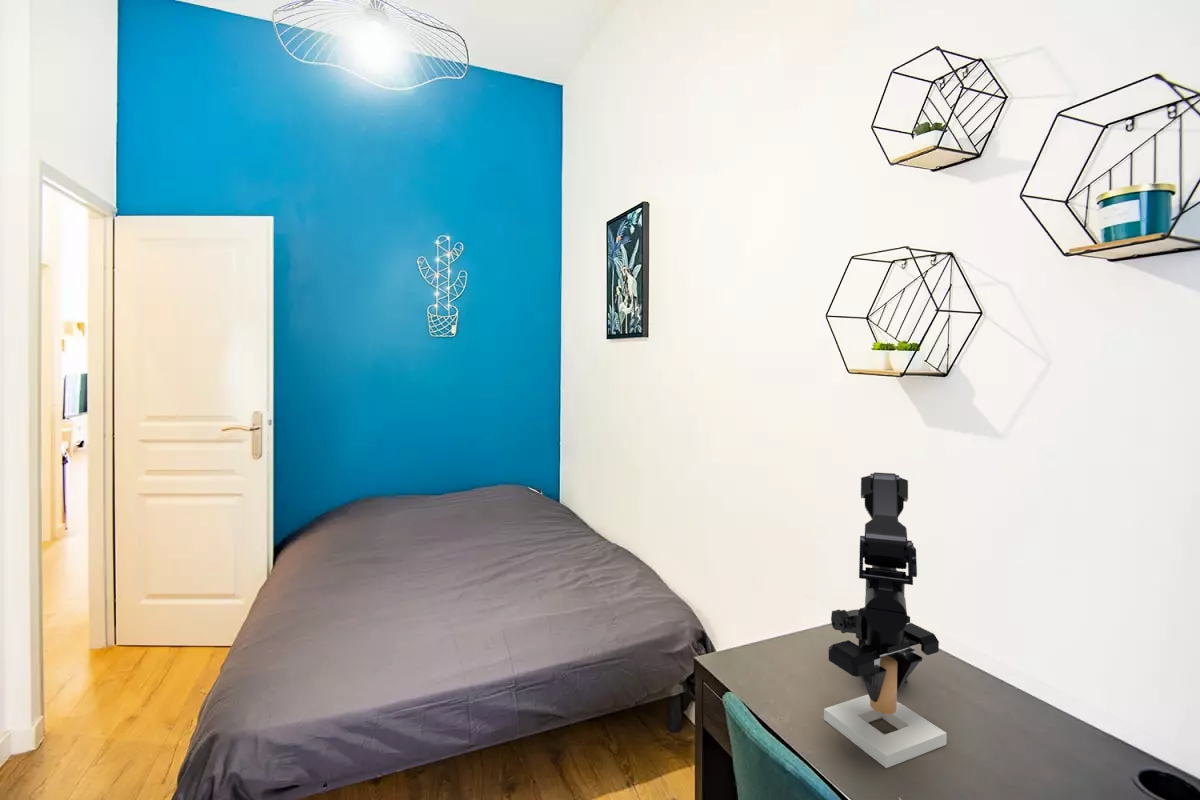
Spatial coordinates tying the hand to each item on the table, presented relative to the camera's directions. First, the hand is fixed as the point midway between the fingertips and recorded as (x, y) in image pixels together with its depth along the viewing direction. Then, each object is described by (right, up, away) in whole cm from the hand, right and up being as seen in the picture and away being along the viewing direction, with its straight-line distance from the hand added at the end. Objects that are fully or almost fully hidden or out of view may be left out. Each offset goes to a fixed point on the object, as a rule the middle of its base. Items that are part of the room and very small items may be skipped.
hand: (883, 697), depth 97 cm
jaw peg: (0, -2, 0) cm, 2 cm away
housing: (0, -6, 0) cm, 6 cm away
